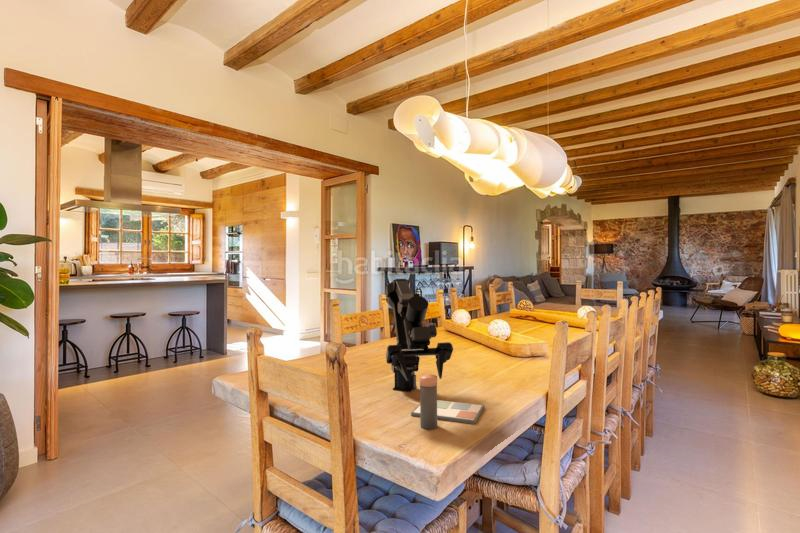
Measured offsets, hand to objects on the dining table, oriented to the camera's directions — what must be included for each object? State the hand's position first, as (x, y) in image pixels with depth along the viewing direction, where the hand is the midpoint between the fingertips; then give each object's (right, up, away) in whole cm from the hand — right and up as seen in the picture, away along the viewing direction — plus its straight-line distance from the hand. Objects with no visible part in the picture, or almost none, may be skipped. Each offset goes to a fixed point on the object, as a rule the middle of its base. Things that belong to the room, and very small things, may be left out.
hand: (424, 379), depth 112 cm
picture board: (+7, -11, +6) cm, 14 cm away
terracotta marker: (+1, -11, -4) cm, 12 cm away
